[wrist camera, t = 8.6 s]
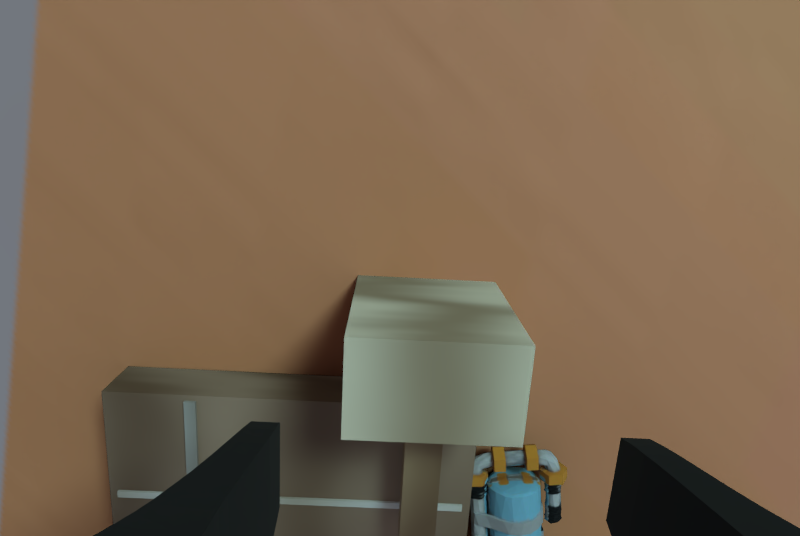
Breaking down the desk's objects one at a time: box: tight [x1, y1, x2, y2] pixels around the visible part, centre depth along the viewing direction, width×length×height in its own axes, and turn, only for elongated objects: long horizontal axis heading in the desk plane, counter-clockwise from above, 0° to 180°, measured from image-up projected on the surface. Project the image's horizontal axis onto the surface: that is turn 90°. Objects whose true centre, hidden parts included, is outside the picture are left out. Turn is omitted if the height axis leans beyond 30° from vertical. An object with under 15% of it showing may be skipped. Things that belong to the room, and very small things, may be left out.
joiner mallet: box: [341, 275, 535, 536], centre depth 19 cm, size 5×8×6 cm, turn 177°
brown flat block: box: [102, 366, 476, 536], centre depth 21 cm, size 13×9×2 cm
